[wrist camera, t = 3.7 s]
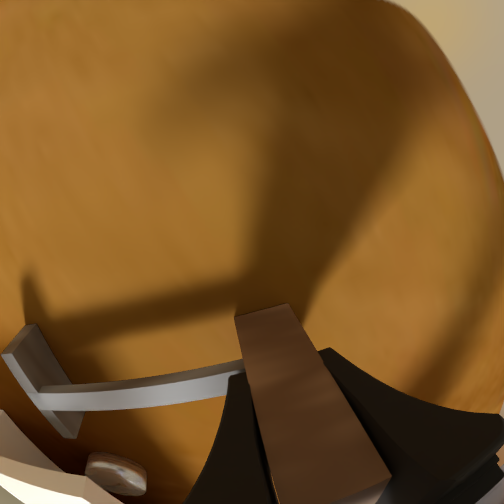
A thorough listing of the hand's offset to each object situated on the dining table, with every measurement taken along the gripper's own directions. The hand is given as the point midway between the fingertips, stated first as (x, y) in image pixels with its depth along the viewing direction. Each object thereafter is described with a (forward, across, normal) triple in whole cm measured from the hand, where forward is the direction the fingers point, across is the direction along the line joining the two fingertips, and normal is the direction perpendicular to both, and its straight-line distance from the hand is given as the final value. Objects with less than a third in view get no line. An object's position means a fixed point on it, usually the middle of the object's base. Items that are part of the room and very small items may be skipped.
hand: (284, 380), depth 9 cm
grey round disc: (+4, +14, +11) cm, 18 cm away
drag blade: (+3, +6, 0) cm, 7 cm away
